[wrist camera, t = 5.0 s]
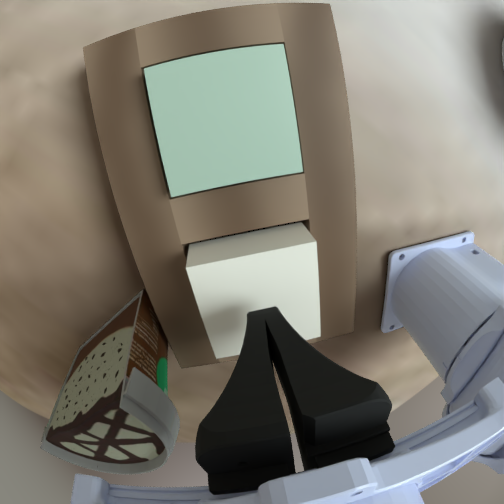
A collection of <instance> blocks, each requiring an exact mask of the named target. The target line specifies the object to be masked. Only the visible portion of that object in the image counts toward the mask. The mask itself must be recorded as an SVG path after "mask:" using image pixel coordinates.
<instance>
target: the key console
mask: <svg viewBox="0 0 504 504" xmlns="http://www.w3.org/2000/svg"><path fill="white" fill-rule="evenodd" d="M274 44H284V49H285V54H286V60H287V65H288V71H289V77H290V83H291V89H292V95H293V101H294V108H295V115H296V121H297V128H298V136H299V143H300V151H301V159H302V167H303V172H299V173H293V174H286V175H280V176H274V177H269V178H263V179H257V180H252V181H247V182H241V183H236V184H231V185H226V186H221V187H216V188H211V189H207V190H202V191H197V192H193V193H188V194H184V195H180V196H175V197H171V194H170V190H169V186H168V182H167V178H166V174H165V170H164V165H163V161H162V157H161V153H160V148H159V144H158V139H157V134H156V130H155V125H154V120H153V115H152V110H151V105H150V100H149V95H148V90H147V84H146V79H145V73H144V68H148V67H151V66H155V65H158V64H162V63H166V62H170V61H174V60H178V59H182V58H187V57H191V56H196V55H201V54H206V53H212V52H218V51H224V50H230V49H237V48H245V47H253V46H263V45H274ZM83 52H84V60H85V67H86V74H87V81H88V87H89V93H90V99H91V104H92V109H93V114H94V119H95V124H96V129H97V133H98V138H99V142H100V146H101V151H102V155H103V159H104V163H105V166H106V170H107V174H108V178H109V181H110V185H111V188H112V192H113V195H114V199H115V202H116V205H117V209H118V212H119V215H120V218H121V221H122V224H123V227H124V230H125V233H126V236H127V239H128V242H129V245H130V248H131V251H132V254H133V256H134V259H135V262H136V265H137V267H138V270H139V273H140V275H141V278H142V280H143V283H144V285H145V288H146V290H147V293H148V295H149V298H150V300H151V303H152V305H153V308H154V310H155V312H156V315H157V317H158V319H159V322H160V324H161V326H162V328H163V331H164V333H165V335H166V337H167V339H168V342H169V344H170V346H171V348H172V350H173V352H174V354H175V356H176V358H177V361H178V363H179V365H180V367H181V368H188V367H195V366H201V365H208V364H214V363H220V362H226V361H232V360H237V359H238V358H239V355H235V356H229V357H224V358H218V359H216V357H215V354H214V351H213V348H212V346H211V343H210V340H209V337H208V334H207V331H206V329H205V326H204V323H203V320H202V317H201V314H200V311H199V308H198V305H197V302H196V299H195V296H194V293H193V290H192V286H191V283H190V280H189V277H188V274H187V270H186V263H187V256H188V250H189V245H190V244H191V242H196V241H201V240H206V239H211V238H215V237H220V236H225V235H230V234H235V233H240V232H245V231H250V230H255V229H260V228H265V227H270V226H275V225H280V224H286V223H291V222H296V221H297V223H299V222H302V223H303V225H304V226H305V227H306V228H307V230H308V231H309V232H310V234H311V235H312V236H313V237H314V239H315V240H316V242H317V257H318V275H319V297H320V329H321V337H317V338H313V339H309V340H306V341H307V342H308V343H309V344H311V343H315V342H319V341H323V340H326V339H330V338H334V337H337V336H341V335H345V334H348V333H352V332H353V330H354V316H355V298H356V271H357V214H356V187H355V170H354V156H353V144H352V133H351V123H350V114H349V106H348V98H347V91H346V84H345V78H344V71H343V65H342V60H341V54H340V49H339V43H338V38H337V33H336V29H335V24H334V20H333V15H332V11H331V7H330V4H324V3H272V4H256V5H245V6H235V7H227V8H220V9H213V10H207V11H202V12H196V13H191V14H186V15H182V16H177V17H173V18H169V19H165V20H161V21H157V22H153V23H150V24H146V25H143V26H140V27H137V28H133V29H130V30H127V31H124V32H121V33H119V34H116V35H113V36H110V37H108V38H105V39H102V40H100V41H97V42H95V43H92V44H90V45H88V46H85V47H83Z"/></svg>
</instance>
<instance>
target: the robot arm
mask: <svg viewBox="0 0 504 504" xmlns="http://www.w3.org/2000/svg"><path fill="white" fill-rule="evenodd" d="M473 241H474V233H473V232H471V231H468V232H465V233H461V234H457V235H453V236H450V237H446V238H442V239H438V240H434V241H431V242H427V243H423V244H419V245H415V246H411V247H407V248H403V249H399V250H395V251H392V252H391V253H390V255H389V259H388V271H387V282H386V292H385V300H384V308H383V316H382V323H381V331H382V332H383V333H387V332H390V331H393V330H396V329H399V328H402V327H405V329H406V330H407V331H408V333H409V334H410V335H411V337H412V338H413V339H414V341H415V342H416V343H417V345H418V346H419V347H420V349H421V350H422V351H423V353H424V354H425V356H426V357H427V358H428V360H429V361H430V363H431V364H432V365H433V367H434V368H435V370H436V371H437V372H438V374H439V375H440V377H441V378H442V379H443V381H444V383H445V384H446V385H445V387H444V389H443V390H442V391H441V395H442V396H443V398H444V399H445V401H446V402H447V403H446V405H445V407H444V409H443V413H442V418H441V419H439V420H437V421H436V422H434V423H432V424H430V425H428V426H426V427H424V428H422V429H420V430H418V431H416V432H414V433H411V434H409V435H407V436H405V437H403V438H401V439H398V440H396V441H393V440H392V438H391V436H390V433H389V430H390V427H389V425H388V424H387V419H388V416H389V414H390V411H391V409H392V403H391V401H390V399H389V397H388V395H387V394H386V393H385V391H384V390H383V389H382V387H381V386H380V385H379V384H378V383H377V382H374V381H371V380H369V379H366V378H363V377H361V376H359V375H356V374H354V373H352V372H350V371H348V370H347V369H345V368H343V367H341V366H340V365H338V364H336V363H334V362H333V361H331V360H330V359H328V358H327V357H325V356H324V355H323V354H321V353H320V352H319V351H317V350H316V349H315V348H314V347H312V346H311V345H310V344H309V343H308V342H307V341H306V340H305V339H304V338H303V337H301V336H300V335H299V333H298V332H297V331H296V330H295V329H294V328H293V327H292V326H291V325H290V324H289V322H288V321H287V320H286V319H285V318H284V316H283V315H282V313H281V312H280V310H279V309H278V308H277V307H276V306H274V307H270V308H265V309H260V310H255V311H251V312H248V313H247V325H246V331H245V336H244V341H243V345H242V348H241V352H240V355H239V358H238V361H237V364H236V366H235V369H234V371H233V373H232V375H231V378H230V379H229V381H228V383H227V385H226V387H225V389H224V391H223V393H222V394H221V396H220V397H219V399H218V400H217V402H216V403H215V405H214V406H213V408H212V409H211V411H210V412H209V413H208V414H207V416H206V417H205V418H204V419H203V420H202V422H201V423H200V424H199V428H198V432H197V437H196V445H195V450H196V461H197V463H198V464H199V465H200V466H201V467H202V468H203V469H204V470H205V471H206V472H207V473H208V484H209V486H201V487H141V486H140V487H139V486H126V485H116V484H109V483H108V482H107V481H105V480H104V479H102V478H99V477H96V476H90V475H83V474H75V478H74V484H73V491H72V498H71V504H424V502H423V499H422V497H421V495H420V492H421V491H423V490H425V489H427V488H429V487H430V486H432V485H434V484H436V483H437V482H439V481H441V480H442V479H444V478H446V477H447V476H449V475H450V474H452V473H453V472H455V471H456V470H458V469H459V468H461V467H462V466H464V465H465V464H467V463H468V462H470V461H474V462H479V463H483V464H486V465H487V466H489V467H491V468H492V469H493V470H495V471H496V472H497V473H498V474H504V265H503V264H502V263H500V262H499V261H498V260H496V259H495V258H494V257H492V256H491V255H489V254H488V253H487V252H485V251H484V250H482V249H481V248H480V247H478V246H477V245H475V244H474V243H473ZM401 254H402V256H401V257H400V258H399V256H400V255H401ZM272 360H273V361H272ZM273 363H274V366H275V369H276V371H277V374H278V377H279V380H280V382H281V385H282V388H283V391H284V393H285V396H286V399H287V402H288V406H289V410H290V414H291V418H292V422H293V426H294V430H295V434H296V437H297V442H298V446H299V450H300V454H301V458H302V463H303V467H304V471H303V472H298V473H296V472H295V465H294V457H293V450H292V443H291V437H290V432H289V428H288V424H287V420H286V417H285V413H284V410H283V406H282V403H281V399H280V395H279V392H278V388H277V384H276V381H275V377H274V369H273Z"/></svg>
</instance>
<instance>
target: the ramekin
mask: <svg viewBox="0 0 504 504" xmlns="http://www.w3.org/2000/svg"><path fill="white" fill-rule="evenodd" d="M502 63H503V70H504V37H503V42H502Z"/></svg>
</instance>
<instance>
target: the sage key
mask: <svg viewBox="0 0 504 504" xmlns="http://www.w3.org/2000/svg"><path fill="white" fill-rule="evenodd" d="M144 73H145V79H146V84H147V90H148V95H149V100H150V105H151V110H152V115H153V120H154V125H155V130H156V134H157V139H158V144H159V148H160V153H161V157H162V161H163V165H164V170H165V174H166V178H167V182H168V186H169V190H170V194H171V197H175V196H180V195H184V194H188V193H193V192H197V191H202V190H207V189H211V188H216V187H221V186H226V185H231V184H236V183H241V182H247V181H252V180H257V179H263V178H269V177H274V176H280V175H286V174H293V173H299V172H303V167H302V159H301V151H300V143H299V136H298V128H297V121H296V115H295V108H294V101H293V95H292V89H291V83H290V77H289V71H288V65H287V60H286V54H285V49H284V44H274V45H263V46H253V47H245V48H237V49H230V50H224V51H218V52H212V53H206V54H201V55H196V56H191V57H187V58H182V59H178V60H174V61H170V62H166V63H162V64H158V65H155V66H151V67H148V68H144Z"/></svg>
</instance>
